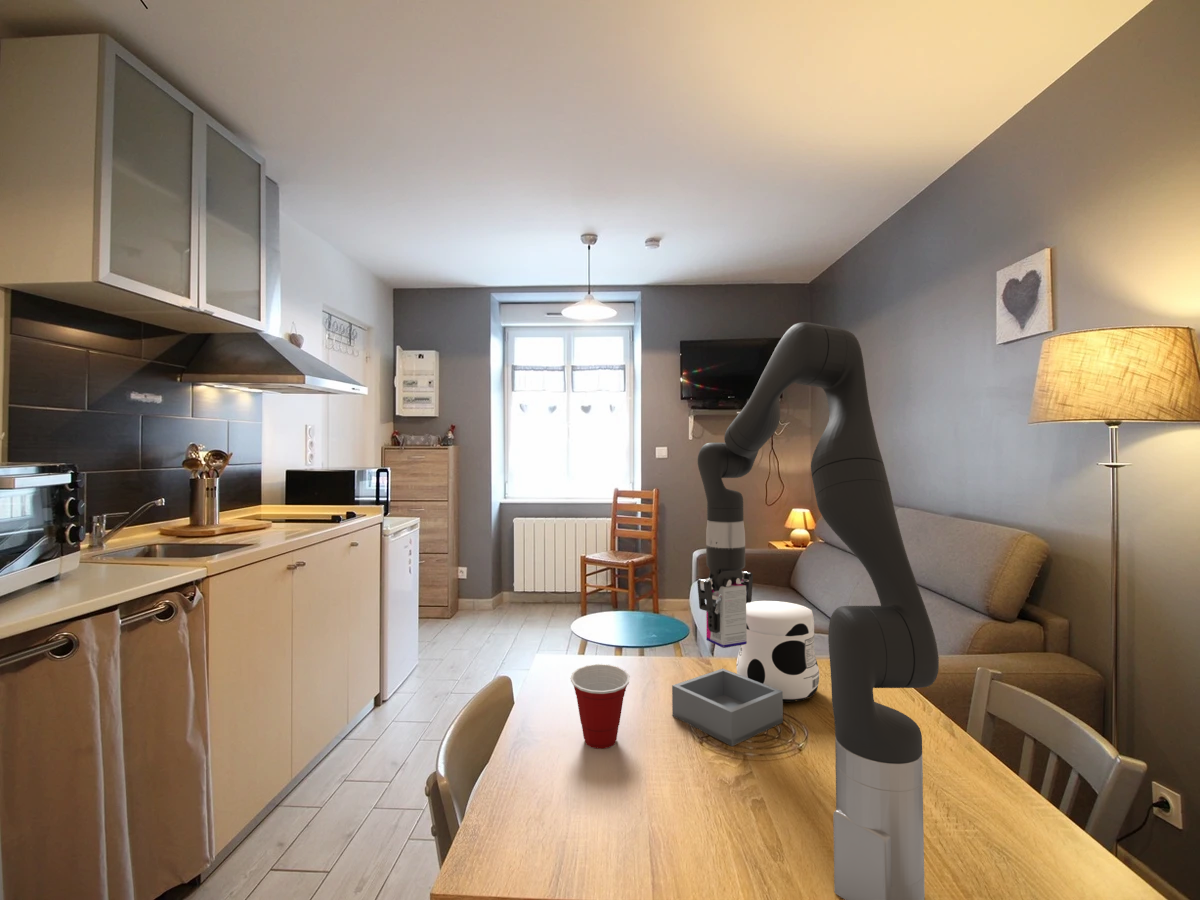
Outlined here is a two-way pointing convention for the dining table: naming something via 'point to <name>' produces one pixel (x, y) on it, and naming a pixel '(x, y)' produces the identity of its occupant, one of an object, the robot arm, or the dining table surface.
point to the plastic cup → (600, 702)
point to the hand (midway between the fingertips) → (726, 628)
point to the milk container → (780, 648)
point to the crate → (727, 705)
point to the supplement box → (730, 617)
